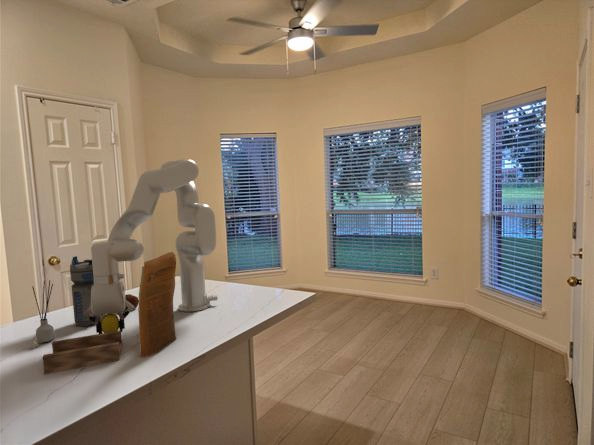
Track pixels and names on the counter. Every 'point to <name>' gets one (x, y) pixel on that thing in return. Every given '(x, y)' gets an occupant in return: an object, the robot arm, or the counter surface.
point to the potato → (132, 300)
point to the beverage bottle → (82, 290)
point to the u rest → (83, 352)
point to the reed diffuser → (43, 324)
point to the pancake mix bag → (157, 304)
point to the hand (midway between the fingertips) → (111, 332)
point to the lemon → (110, 323)
